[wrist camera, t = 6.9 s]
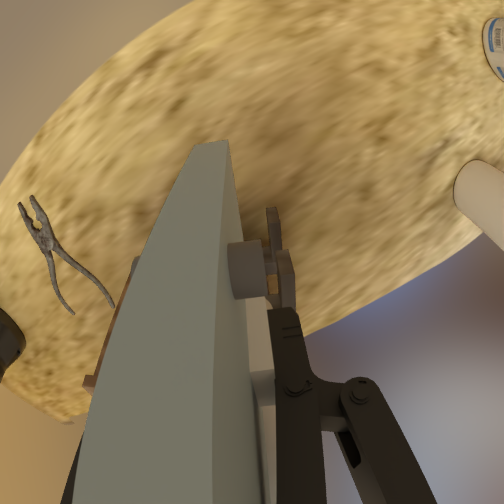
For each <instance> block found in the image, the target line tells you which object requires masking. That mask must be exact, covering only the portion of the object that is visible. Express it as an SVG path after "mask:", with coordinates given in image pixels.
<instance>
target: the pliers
mask: <svg viewBox="0 0 504 504" xmlns="http://www.w3.org/2000/svg"><path fill="white" fill-rule="evenodd" d="M29 198H30V201H31V204H32V207H33V209H34V210H35V212H36V219H37V220H38V221H40V222H41V224H42V228H41V229H40V230H41V231H40V230H39V229H36V228H35V227H34V226H33V220H32V218H30V217H29V216H28V215H27V212H26V210H25V208H24V207H23V205H22V204H21V202H19V203H18V204H17V205H18V207H19V210H20V212H21V215H22V217H23V220H24V222H25V224H26V226H27V228H28V230H29V232H30V234H31V235H32V237H33V239H34V240H35V241H36V243H37V244H38V246H39V248H40V250H41V252H42V253H43V254H44V255H45V257H46V260H47V263H48V267H49V272H50V277H51V281H52V285H53V288H54V290H55V292H56V295H57V296H58V298H59V300H60V301H61V302H62V304H63V305H64V306H65V308H66V309H67V310H68V311H69V312H70V313H71V314H72V315H75V312H74V311H73V310H72V309H71V308H70V307H69V306H68V305H67V303H66V302H65V301H64V299H63V297H62V296H61V294H60V292H59V289H58V286H57V281H56V274H55V265H54V260H53V256H52V253H51V250H53V251H55V252H56V253H57V254H58V255H59V256H60V257H62V258H63V259H64V260H65V261H66V262H67V263H69V264H70V265H71V266H73V267H74V268H76V269H77V270H78V271H80V272H81V273H83V274H84V275H85V276H87V277H88V278H89V279H90V280H92V281H93V282H94V283H95V284H96V285H97V286H98V287H99V289H100V290H101V291H102V292H103V294H104V295H105V297H106V298H107V300H108V302H109V304H110V306H111V308H114V307H115V305H114V302H113V300H112V298H111V297H110V295H109V293H108V292H107V290H106V289H105V288H104V286H103V285H102V284H101V283H100V281H99V280H98V279H97V278H96V277H95V276H94V275H92V274H91V273H90V272H89V271H88V270H86V269H85V268H84V267H83V266H81V265H80V264H79V263H78V262H76V261H75V260H74V259H73V258H71V257H70V256H69V255H68V254H67V253H66V252H65V251H64V250H63V248H62V247H61V246H60V244H59V242H58V241H57V239H56V238H55V237H54V233H53V231H52V228H51V225H50V223H49V220H48V217H47V215H46V213H45V212H44V211H43V209H42V208H41V206H40V205H39V204H38V202H37V201H36V199H35V198H34V196H33V195H31V196H30V197H29Z"/></svg>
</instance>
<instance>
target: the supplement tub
mask: <svg viewBox="0 0 504 504" xmlns="http://www.w3.org/2000/svg"><path fill="white" fill-rule="evenodd" d="M483 44H484V49H485V53H486V56H487V59H488V61H489V64H490V66H491V67H492V69H493V71H494V72H495V73H496V75H497V76H498V77H499V78H500V79H501V80H502V81H503V82H504V18H492V19H490V20H489V21H488V22H487V23H486V24H485V27H484V30H483Z"/></svg>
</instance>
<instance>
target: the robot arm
mask: <svg viewBox="0 0 504 504" xmlns="http://www.w3.org/2000/svg"><path fill="white" fill-rule="evenodd" d="M245 302H246V319H247V335H248V351H249V367H250V375H251V379H252V383H253V386H254V390H255V394H256V398H257V402H258V406H259V407H264V406H273V405H275V406H276V504H327V500H326V483H325V469H324V457H323V446H322V435H321V431H330V432H331V431H332V432H334V434H335V436H336V439H337V441H338V443H339V446H340V449H341V451H342V453H343V456H344V458H345V461H346V463H347V465H348V468H349V470H350V473H351V475H352V478H353V480H354V482H355V485H356V487H357V490H358V492H359V495H360V497H361V500H362V502H363V504H437V502H436V500H435V498H434V495H433V494H432V491H431V489H430V487H429V485H428V483H427V481H426V478H425V476H424V474H423V472H422V470H421V468H420V466H419V464H418V462H417V460H416V458H415V456H414V454H413V452H412V450H411V448H410V446H409V444H408V442H407V440H406V438H405V436H404V434H403V432H402V430H401V428H400V426H399V425H398V423H397V421H396V419H395V417H394V415H393V413H392V411H391V409H390V408H389V406H388V404H387V402H386V400H385V398H384V396H383V394H382V393H381V391H380V389H379V387H378V386H377V385H376V383H375V382H374V381H372V380H370V379H369V378H365V377H356V378H352V379H350V380H349V381H347V382H346V383H335V382H328V381H324V380H322V379H320V378H318V377H317V376H316V375H314V373H313V372H312V370H311V368H310V364H309V360H308V355H307V351H306V346H305V342H304V337H303V333H302V329H301V324H300V320H299V316H298V314H297V313H296V312H295V311H294V309H293V308H292V307H284V308H277V309H269V310H267V309H266V301H265V296H263V297H255V298H247V299H245ZM25 346H26V342H25V338H24V336H23V334H22V332H21V331H20V329H19V328H18V326H17V325H16V324H15V323H14V321H13V320H12V319H11V318H10V317H9V316H8V315H7V314H6V313H5V312H3V311H2V310H1V309H0V382H1V380H2V377H3V375H4V373H5V371H6V369H7V368H8V367H9V366H10V365H11V364H12V363H13V362H14V361H15V360H16V359H17V358H18V357H19V356H20V355H21V354H22V352H23V350H24V348H25ZM83 434H84V433H83ZM82 439H83V435H82V438H81V441H80V444H79V447H78V449H77V452H76V455H75V458H74V461H73V464H72V467H71V470H70V473H69V476H68V479H67V483H66V486H65V489H64V493H63V496H62V500H61V503H60V504H72V500H73V492H74V485H75V478H76V472H77V466H78V460H79V454H80V449H81V444H82Z"/></svg>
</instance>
